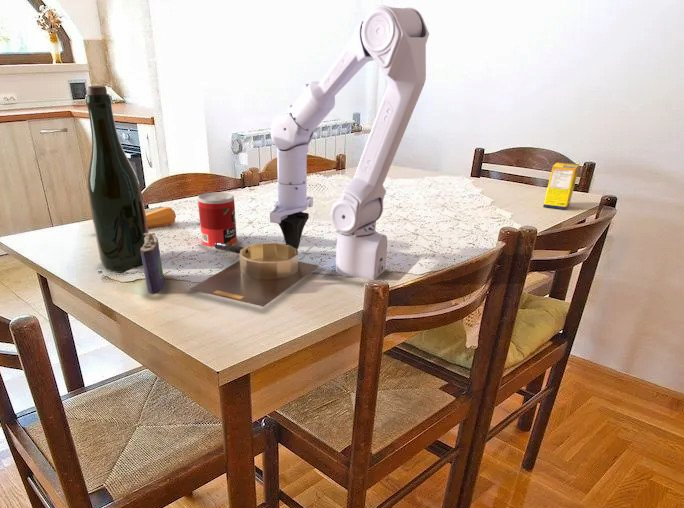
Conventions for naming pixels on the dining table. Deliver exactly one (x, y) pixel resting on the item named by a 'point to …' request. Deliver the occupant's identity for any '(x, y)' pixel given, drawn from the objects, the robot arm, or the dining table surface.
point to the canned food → (217, 218)
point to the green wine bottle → (113, 190)
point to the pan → (265, 260)
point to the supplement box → (561, 185)
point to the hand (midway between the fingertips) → (292, 248)
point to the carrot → (160, 217)
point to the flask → (152, 264)
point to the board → (250, 284)
